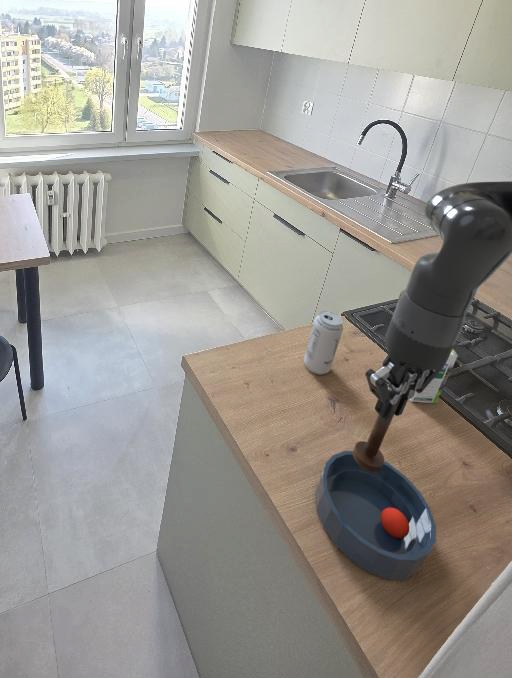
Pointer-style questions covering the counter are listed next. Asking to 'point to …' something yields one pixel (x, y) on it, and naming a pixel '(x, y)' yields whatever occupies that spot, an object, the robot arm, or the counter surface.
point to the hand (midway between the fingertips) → (387, 412)
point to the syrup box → (436, 383)
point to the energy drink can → (323, 342)
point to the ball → (394, 523)
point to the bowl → (374, 516)
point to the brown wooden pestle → (373, 445)
